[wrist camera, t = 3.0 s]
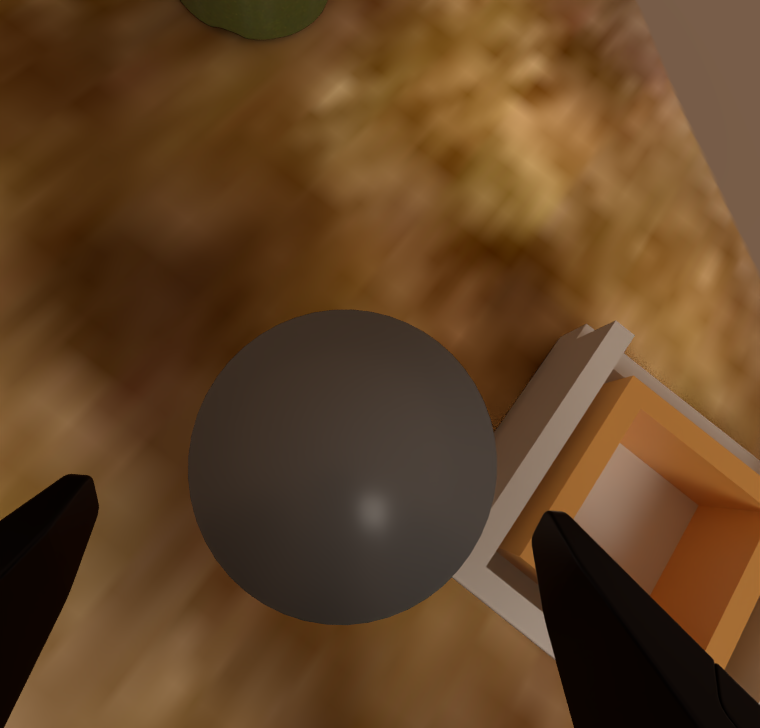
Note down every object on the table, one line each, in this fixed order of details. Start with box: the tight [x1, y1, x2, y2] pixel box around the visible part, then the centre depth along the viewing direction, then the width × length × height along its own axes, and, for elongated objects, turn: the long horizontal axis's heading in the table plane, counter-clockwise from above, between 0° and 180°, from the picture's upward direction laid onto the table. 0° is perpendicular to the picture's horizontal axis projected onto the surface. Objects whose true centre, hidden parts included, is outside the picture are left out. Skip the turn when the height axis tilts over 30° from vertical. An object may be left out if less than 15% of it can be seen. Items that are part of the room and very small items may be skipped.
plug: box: [188, 310, 497, 625], centre depth 12 cm, size 4×4×12 cm
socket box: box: [452, 321, 760, 704], centre depth 17 cm, size 11×11×4 cm
